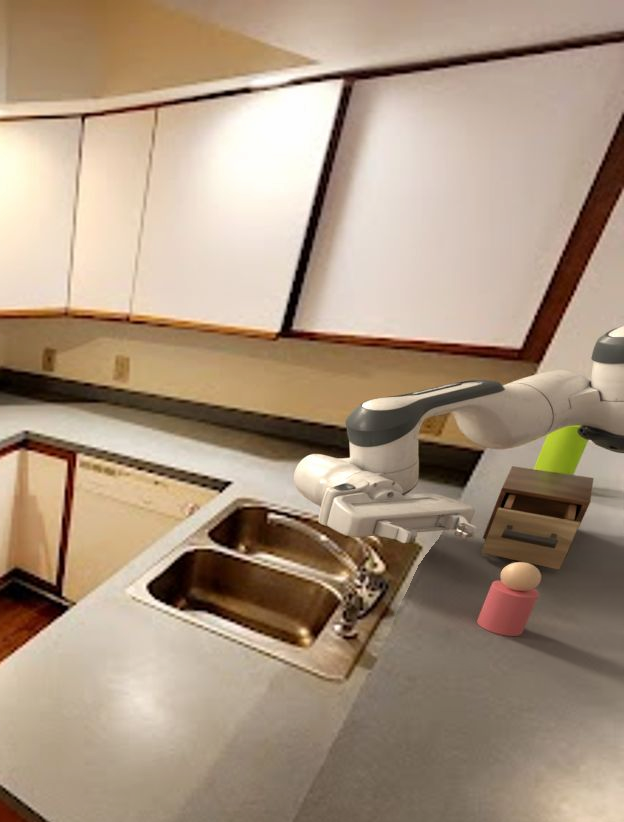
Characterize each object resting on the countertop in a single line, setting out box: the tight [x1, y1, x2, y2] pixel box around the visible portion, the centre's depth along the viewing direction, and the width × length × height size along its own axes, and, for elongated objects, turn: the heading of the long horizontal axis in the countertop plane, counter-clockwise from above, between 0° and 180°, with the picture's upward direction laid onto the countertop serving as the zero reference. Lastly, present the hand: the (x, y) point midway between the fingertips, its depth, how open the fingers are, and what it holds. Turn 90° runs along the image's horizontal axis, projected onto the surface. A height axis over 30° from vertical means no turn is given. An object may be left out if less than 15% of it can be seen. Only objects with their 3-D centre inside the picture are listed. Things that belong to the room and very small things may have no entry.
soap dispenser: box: [533, 425, 589, 475], centre depth 123 cm, size 6×7×20 cm
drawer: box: [480, 493, 581, 571], centre depth 100 cm, size 18×9×8 cm, turn 134°
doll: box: [476, 561, 542, 637], centre depth 82 cm, size 5×5×10 cm
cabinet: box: [482, 466, 594, 556], centre depth 107 cm, size 14×10×9 cm
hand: (441, 535), depth 92 cm, fingers open, 8 cm apart
